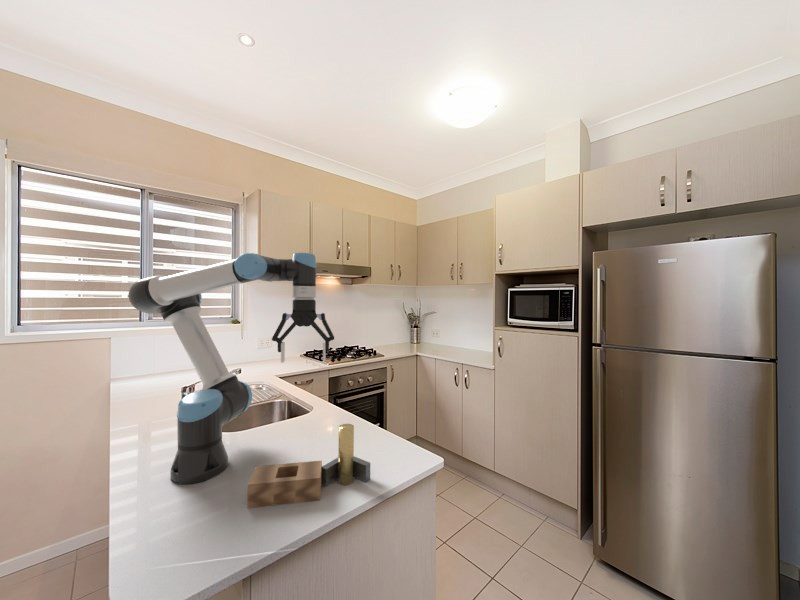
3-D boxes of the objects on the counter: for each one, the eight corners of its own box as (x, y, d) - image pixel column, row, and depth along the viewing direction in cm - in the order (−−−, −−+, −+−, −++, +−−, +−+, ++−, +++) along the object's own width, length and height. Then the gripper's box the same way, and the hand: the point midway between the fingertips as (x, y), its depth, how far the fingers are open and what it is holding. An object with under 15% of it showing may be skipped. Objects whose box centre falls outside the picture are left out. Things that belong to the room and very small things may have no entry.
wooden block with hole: (247, 508, 82) (247, 484, 82) (256, 487, 91) (256, 466, 91) (320, 500, 85) (320, 477, 85) (321, 480, 94) (321, 460, 94)
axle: (338, 485, 92) (338, 430, 91) (338, 477, 96) (338, 424, 96) (353, 484, 93) (354, 429, 92) (352, 475, 97) (353, 423, 97)
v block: (320, 487, 91) (321, 469, 91) (321, 473, 98) (322, 457, 98) (370, 482, 94) (370, 465, 94) (368, 469, 101) (368, 453, 101)
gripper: (262, 298, 103) (262, 364, 103) (341, 299, 108) (341, 362, 108) (267, 298, 110) (267, 359, 111) (341, 299, 115) (340, 358, 115)
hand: (303, 361), depth 109 cm, fingers open, 13 cm apart
